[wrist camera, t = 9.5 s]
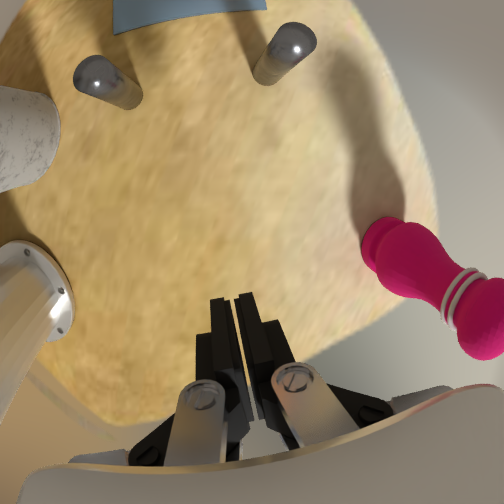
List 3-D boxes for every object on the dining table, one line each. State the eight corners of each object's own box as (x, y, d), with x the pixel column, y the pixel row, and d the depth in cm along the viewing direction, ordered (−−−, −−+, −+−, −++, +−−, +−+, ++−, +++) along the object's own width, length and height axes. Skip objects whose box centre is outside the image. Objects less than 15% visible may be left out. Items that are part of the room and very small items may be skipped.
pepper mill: (364, 207, 26) (535, 305, 8) (414, 215, 28) (560, 295, 9) (350, 273, 29) (475, 408, 11) (399, 274, 30) (518, 378, 12)
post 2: (254, 86, 21) (280, 55, 13) (250, 62, 20) (274, 21, 12) (281, 84, 21) (319, 56, 13) (277, 61, 20) (312, 23, 12)
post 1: (118, 112, 20) (74, 98, 12) (115, 88, 19) (72, 63, 11) (144, 105, 20) (110, 84, 12) (141, 81, 19) (108, 49, 11)
